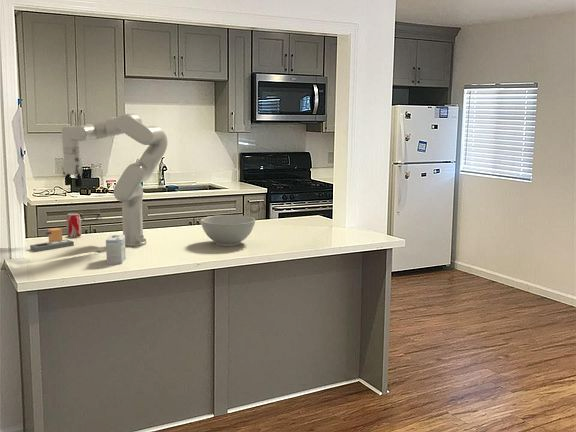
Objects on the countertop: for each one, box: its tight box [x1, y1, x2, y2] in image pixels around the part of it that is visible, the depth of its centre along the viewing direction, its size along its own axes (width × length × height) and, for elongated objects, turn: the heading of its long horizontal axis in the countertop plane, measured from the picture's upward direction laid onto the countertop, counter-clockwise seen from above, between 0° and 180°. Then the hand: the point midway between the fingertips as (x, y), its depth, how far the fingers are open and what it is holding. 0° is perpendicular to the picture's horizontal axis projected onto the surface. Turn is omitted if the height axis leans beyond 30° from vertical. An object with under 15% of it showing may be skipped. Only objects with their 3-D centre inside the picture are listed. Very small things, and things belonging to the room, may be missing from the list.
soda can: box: [65, 212, 82, 239], centre depth 335 cm, size 7×7×12 cm
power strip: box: [29, 239, 75, 253], centre depth 305 cm, size 7×18×4 cm, turn 136°
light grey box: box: [105, 234, 127, 265], centre depth 285 cm, size 11×7×11 cm, turn 5°
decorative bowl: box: [200, 214, 256, 247], centre depth 320 cm, size 27×27×12 cm
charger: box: [45, 227, 63, 242], centre depth 315 cm, size 4×7×8 cm, turn 137°
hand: (73, 185), depth 321 cm, fingers open, 9 cm apart
